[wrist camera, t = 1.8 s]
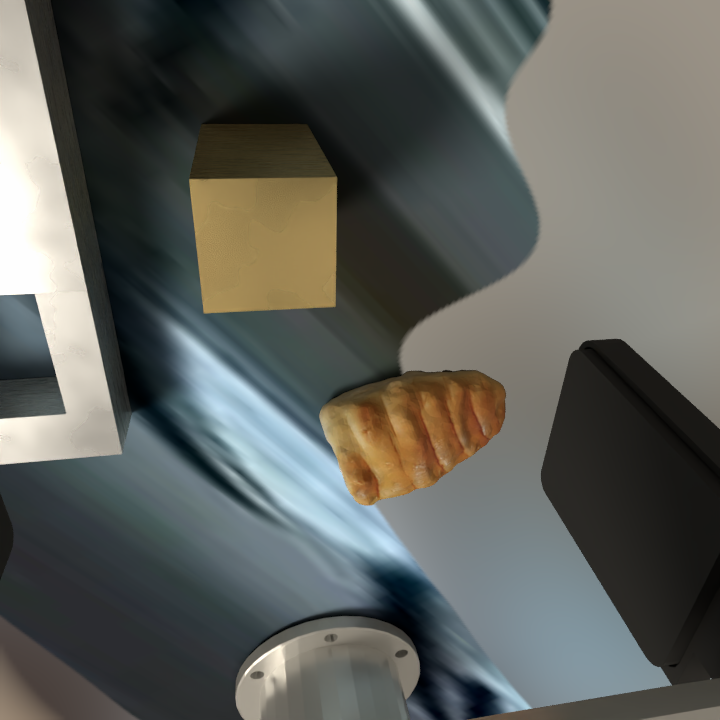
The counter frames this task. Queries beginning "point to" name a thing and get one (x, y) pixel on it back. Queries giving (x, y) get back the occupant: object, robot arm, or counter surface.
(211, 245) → the wooden block
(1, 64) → the board with square holes
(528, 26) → the counter surface
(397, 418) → the pastry
